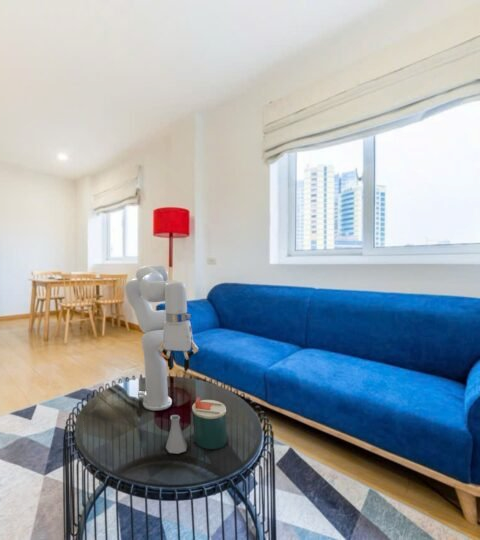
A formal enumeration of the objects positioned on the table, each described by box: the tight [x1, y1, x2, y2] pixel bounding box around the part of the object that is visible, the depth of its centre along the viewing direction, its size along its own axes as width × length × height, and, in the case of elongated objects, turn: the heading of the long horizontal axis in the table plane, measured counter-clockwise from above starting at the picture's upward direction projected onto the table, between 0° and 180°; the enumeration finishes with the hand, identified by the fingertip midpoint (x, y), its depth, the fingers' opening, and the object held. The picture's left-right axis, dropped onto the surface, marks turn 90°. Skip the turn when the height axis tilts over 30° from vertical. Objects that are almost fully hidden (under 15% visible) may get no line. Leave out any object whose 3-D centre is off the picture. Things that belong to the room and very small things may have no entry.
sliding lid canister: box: [191, 399, 228, 450], centre depth 98 cm, size 11×11×11 cm
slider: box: [194, 396, 212, 410], centre depth 98 cm, size 5×4×2 cm
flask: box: [165, 414, 188, 455], centre depth 94 cm, size 7×7×10 cm
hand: (178, 368), depth 101 cm, fingers open, 4 cm apart
